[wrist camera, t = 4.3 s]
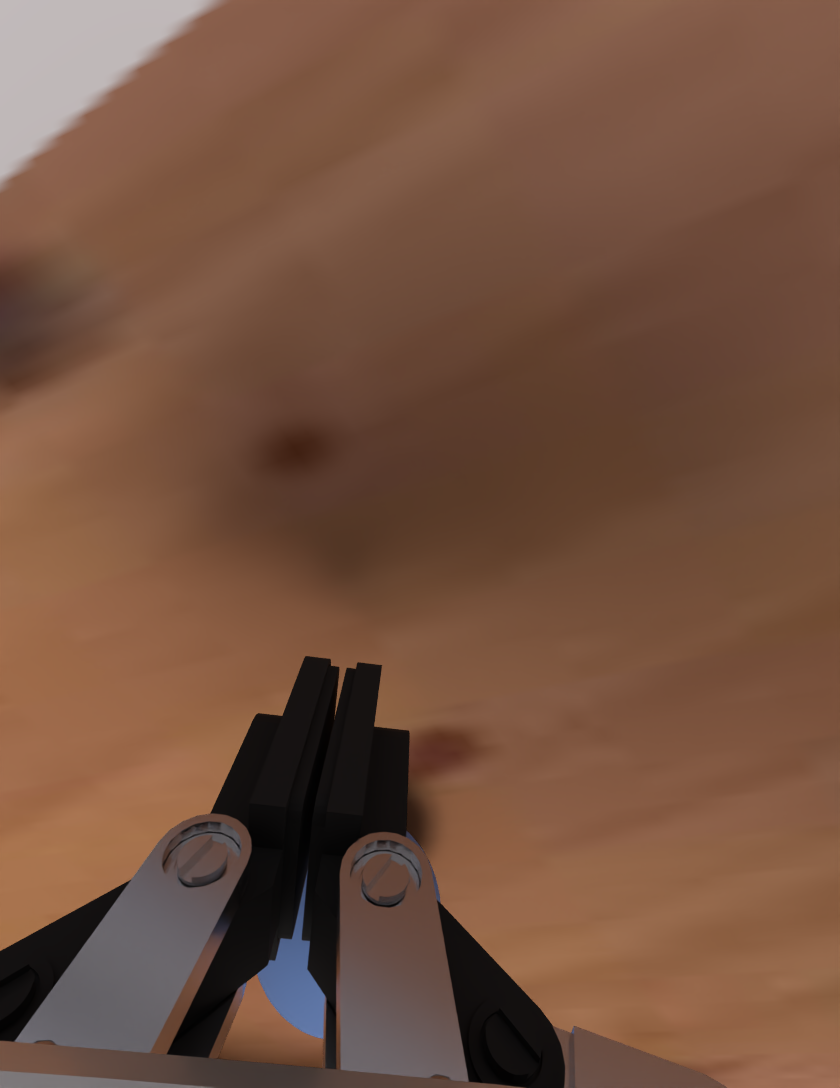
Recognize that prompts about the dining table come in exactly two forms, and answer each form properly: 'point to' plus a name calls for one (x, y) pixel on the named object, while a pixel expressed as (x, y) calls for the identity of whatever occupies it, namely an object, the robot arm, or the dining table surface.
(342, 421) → the dining table surface
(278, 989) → the ball
